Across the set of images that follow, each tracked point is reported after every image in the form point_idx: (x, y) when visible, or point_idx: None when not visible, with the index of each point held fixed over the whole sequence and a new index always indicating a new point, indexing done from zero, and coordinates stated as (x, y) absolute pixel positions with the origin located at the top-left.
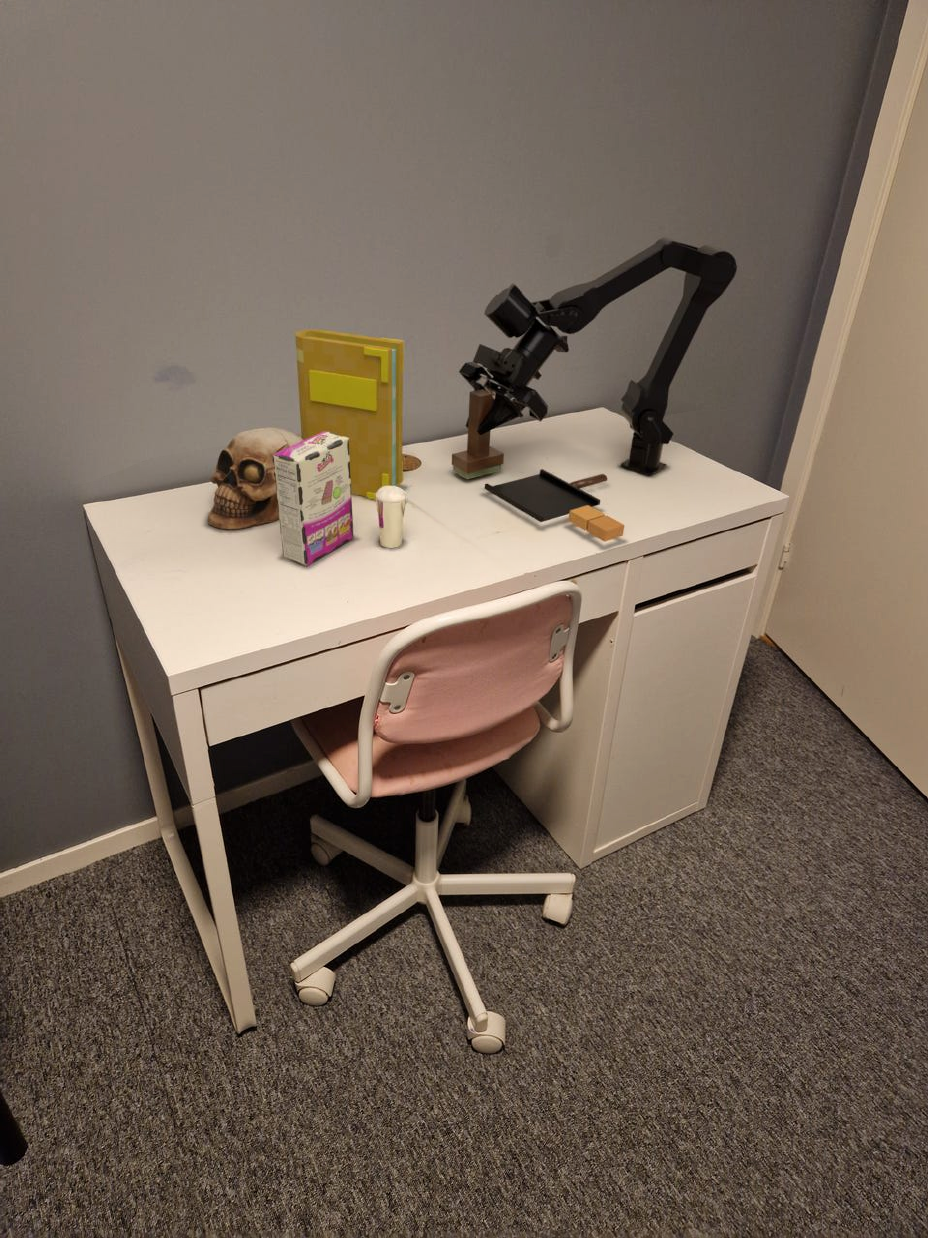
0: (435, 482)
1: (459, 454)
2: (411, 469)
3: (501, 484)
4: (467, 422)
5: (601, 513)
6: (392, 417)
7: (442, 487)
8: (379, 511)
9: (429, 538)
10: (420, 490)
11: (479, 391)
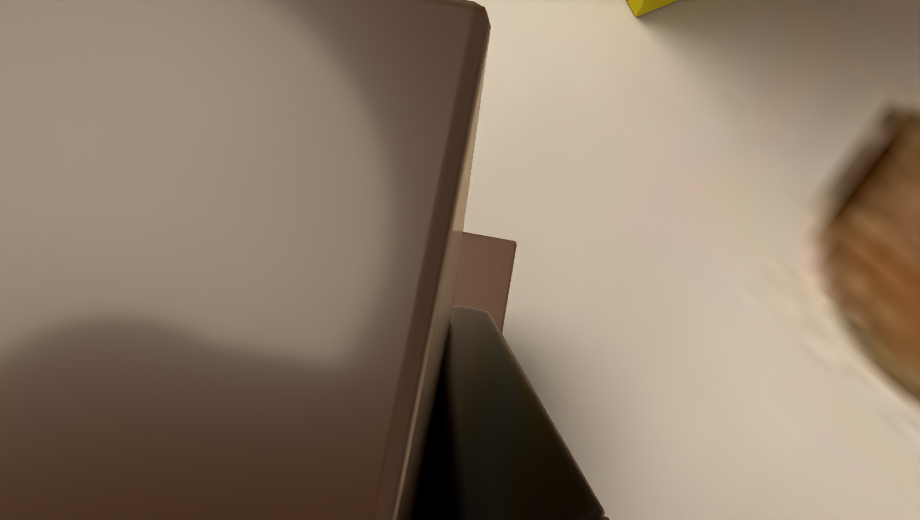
0: (561, 220)
1: (456, 285)
2: (838, 250)
3: None
4: (473, 324)
5: None
6: None
7: (468, 198)
8: None
9: None
10: (528, 63)
11: (135, 412)
